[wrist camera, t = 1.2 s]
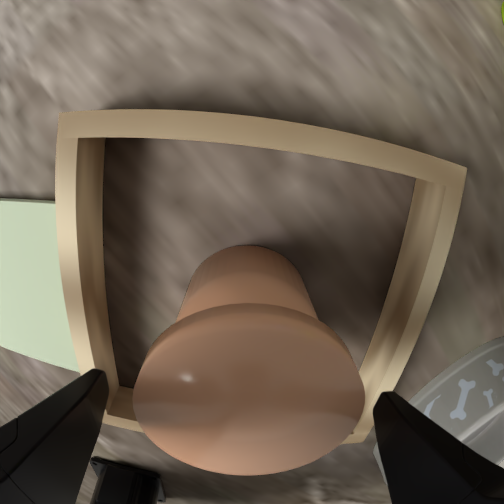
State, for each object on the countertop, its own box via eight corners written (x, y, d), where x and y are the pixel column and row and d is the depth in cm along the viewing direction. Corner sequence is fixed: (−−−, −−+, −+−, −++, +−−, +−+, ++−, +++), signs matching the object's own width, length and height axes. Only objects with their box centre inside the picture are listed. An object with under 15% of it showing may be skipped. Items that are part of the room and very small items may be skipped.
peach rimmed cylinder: (300, 360, 16) (327, 473, 9) (176, 349, 15) (146, 463, 8) (329, 243, 14) (399, 335, 7) (179, 226, 13) (119, 312, 6)
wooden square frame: (353, 414, 18) (363, 441, 15) (107, 393, 16) (95, 420, 14) (435, 162, 12) (467, 168, 10) (88, 115, 11) (59, 112, 9)
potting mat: (87, 367, 16) (84, 373, 15) (-11, 335, 15) (-15, 339, 15) (67, 201, 12) (60, 204, 12) (-38, 197, 12) (-44, 199, 11)
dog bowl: (397, 485, 24) (410, 521, 19) (346, 422, 18) (365, 483, 13) (519, 404, 21) (540, 432, 16) (529, 292, 16) (573, 326, 10)
